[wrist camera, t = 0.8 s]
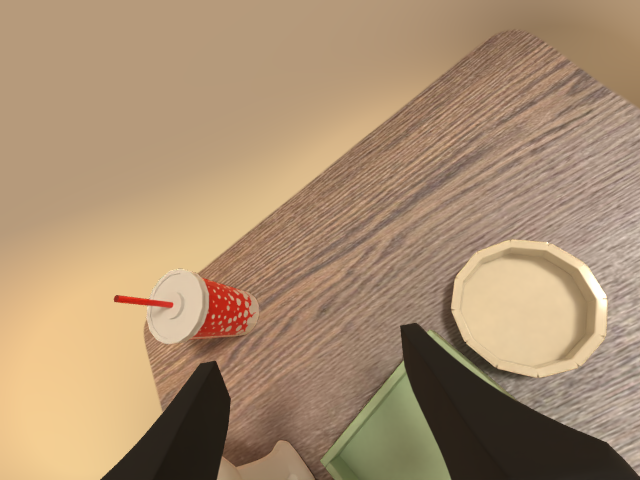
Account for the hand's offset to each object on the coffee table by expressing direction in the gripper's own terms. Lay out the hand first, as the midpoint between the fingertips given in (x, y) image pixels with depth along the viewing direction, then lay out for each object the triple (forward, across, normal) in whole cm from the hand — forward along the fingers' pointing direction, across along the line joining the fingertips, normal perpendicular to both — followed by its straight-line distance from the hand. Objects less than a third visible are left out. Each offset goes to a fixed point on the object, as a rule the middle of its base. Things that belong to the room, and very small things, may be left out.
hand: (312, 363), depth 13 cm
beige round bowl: (+10, -15, +8) cm, 20 cm away
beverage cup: (+20, +8, +11) cm, 24 cm away
